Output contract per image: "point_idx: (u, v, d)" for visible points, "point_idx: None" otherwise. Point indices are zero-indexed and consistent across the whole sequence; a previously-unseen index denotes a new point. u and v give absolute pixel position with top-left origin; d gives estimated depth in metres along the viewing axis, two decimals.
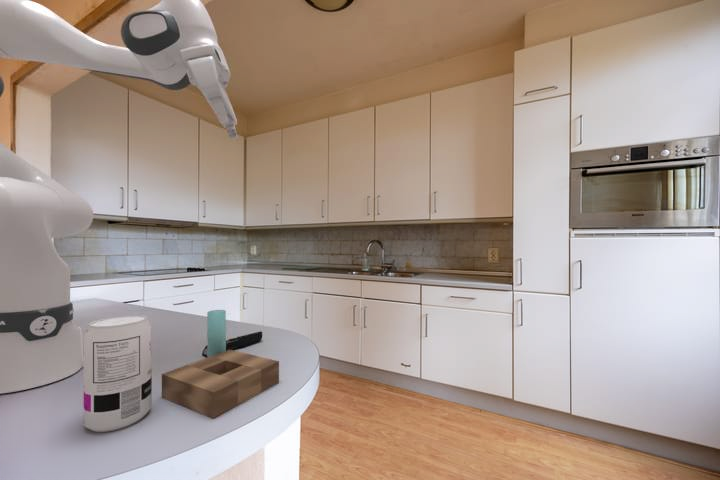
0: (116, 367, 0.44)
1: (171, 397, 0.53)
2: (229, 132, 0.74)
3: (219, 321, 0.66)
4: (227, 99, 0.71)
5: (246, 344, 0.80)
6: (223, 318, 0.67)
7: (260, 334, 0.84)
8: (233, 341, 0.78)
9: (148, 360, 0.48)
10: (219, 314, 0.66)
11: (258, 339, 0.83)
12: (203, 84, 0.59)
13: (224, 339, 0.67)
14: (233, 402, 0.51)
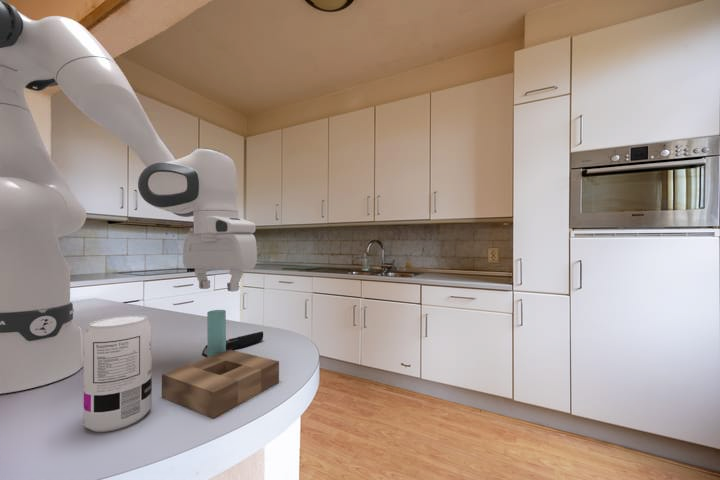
0: (116, 367, 0.44)
1: (171, 397, 0.53)
2: (204, 283, 0.69)
3: (219, 321, 0.66)
4: None
5: (246, 344, 0.80)
6: (223, 318, 0.67)
7: (261, 334, 0.84)
8: (233, 341, 0.78)
9: (148, 360, 0.48)
10: (219, 314, 0.66)
11: (259, 339, 0.83)
12: (247, 263, 0.62)
13: (224, 339, 0.67)
14: (233, 402, 0.51)
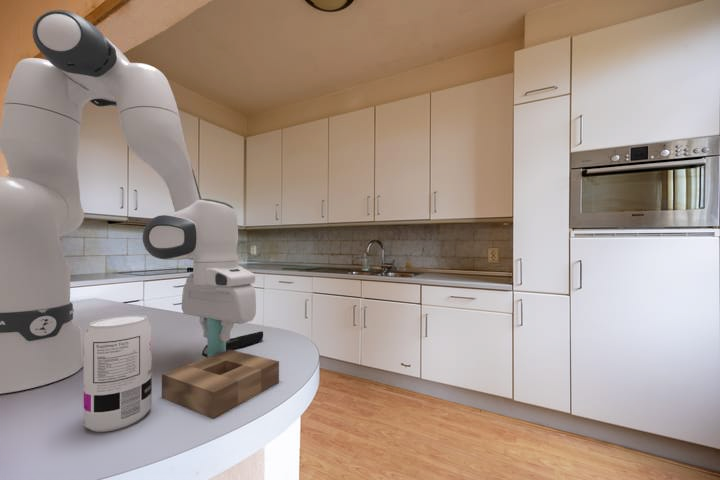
0: (116, 367, 0.44)
1: (171, 397, 0.53)
2: None
3: (219, 320, 0.66)
4: None
5: (246, 344, 0.80)
6: None
7: (261, 334, 0.84)
8: (233, 341, 0.78)
9: (148, 360, 0.48)
10: None
11: (259, 339, 0.83)
12: (246, 317, 0.62)
13: None
14: (233, 402, 0.51)
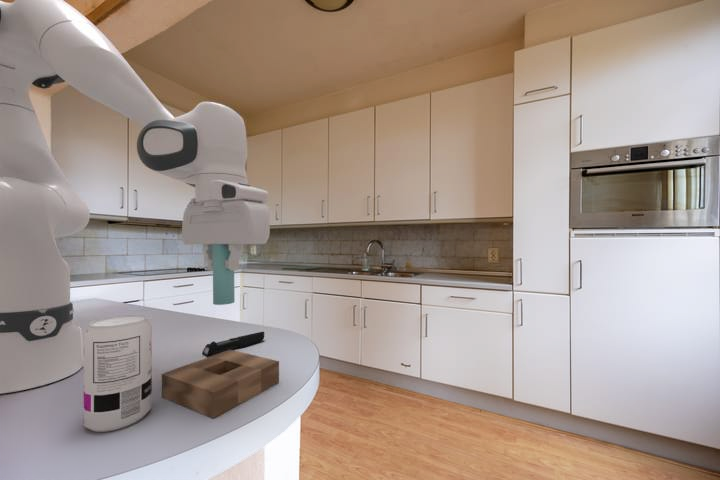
0: (116, 367, 0.44)
1: (171, 397, 0.53)
2: None
3: (227, 246, 0.56)
4: None
5: (247, 344, 0.80)
6: None
7: (262, 334, 0.84)
8: (234, 341, 0.78)
9: (148, 360, 0.48)
10: None
11: (260, 339, 0.83)
12: (258, 236, 0.52)
13: None
14: (233, 402, 0.51)
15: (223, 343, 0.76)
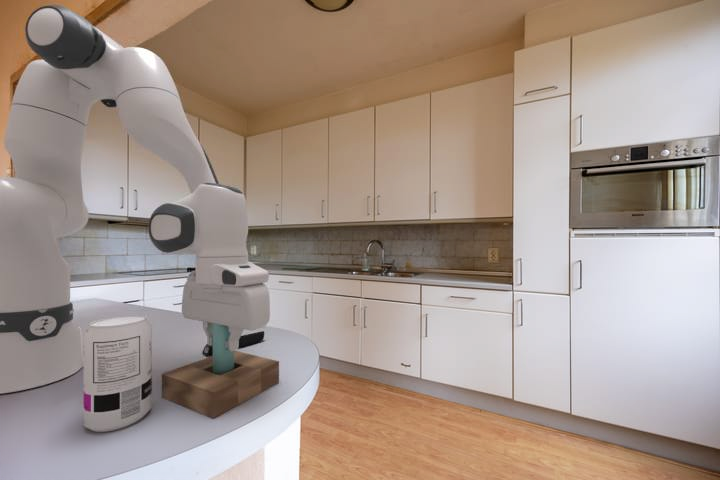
0: (116, 367, 0.44)
1: (171, 397, 0.53)
2: None
3: (227, 326, 0.56)
4: None
5: (247, 344, 0.80)
6: None
7: (262, 334, 0.84)
8: None
9: (148, 360, 0.48)
10: None
11: (259, 339, 0.83)
12: (258, 323, 0.51)
13: None
14: (233, 402, 0.51)
15: None
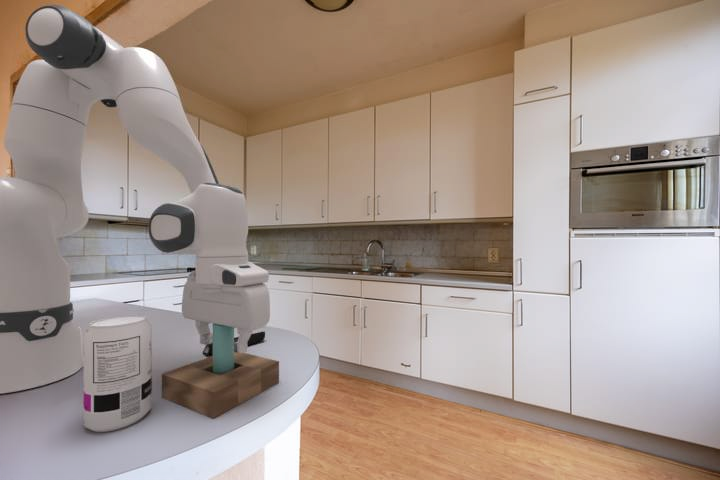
0: (116, 367, 0.44)
1: (171, 397, 0.53)
2: (206, 338, 0.58)
3: (227, 334, 0.56)
4: None
5: (247, 344, 0.80)
6: (231, 331, 0.57)
7: (263, 334, 0.84)
8: (234, 340, 0.78)
9: (148, 360, 0.48)
10: (227, 327, 0.56)
11: (260, 339, 0.83)
12: (258, 323, 0.51)
13: (232, 356, 0.57)
14: (233, 402, 0.51)
15: None
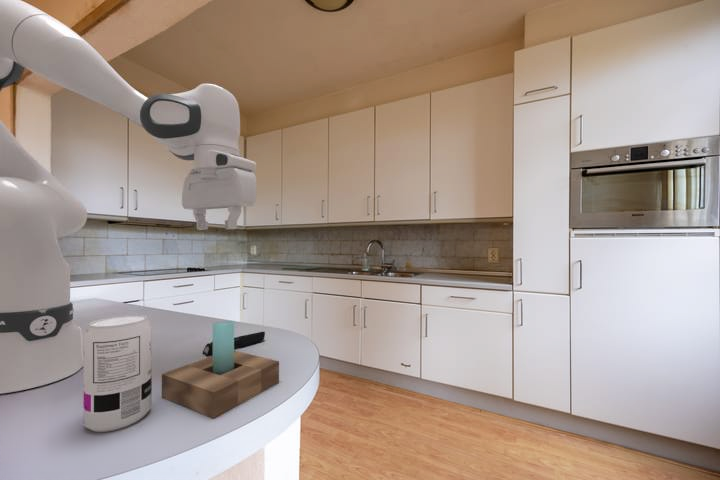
0: (116, 367, 0.44)
1: (171, 397, 0.53)
2: (202, 223, 0.68)
3: (227, 334, 0.56)
4: None
5: (247, 344, 0.80)
6: (231, 331, 0.57)
7: (262, 334, 0.84)
8: (234, 340, 0.79)
9: (148, 360, 0.48)
10: (227, 327, 0.56)
11: (260, 339, 0.83)
12: (246, 198, 0.61)
13: (232, 356, 0.57)
14: (233, 402, 0.51)
15: None
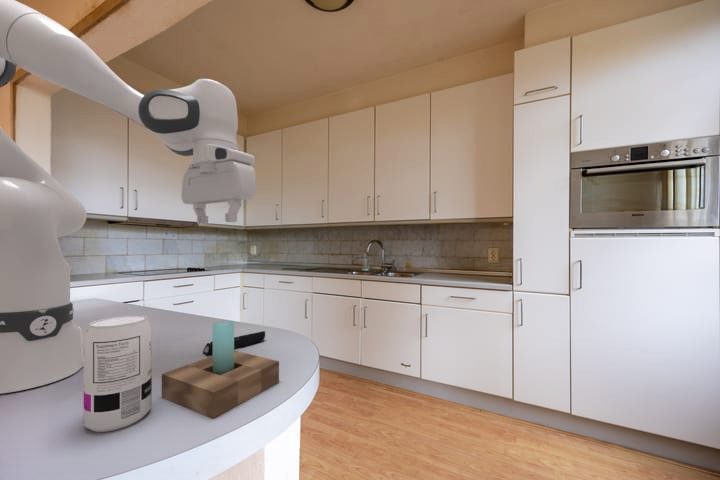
0: (116, 367, 0.44)
1: (171, 397, 0.53)
2: (202, 217, 0.69)
3: (227, 334, 0.56)
4: None
5: (247, 343, 0.80)
6: (231, 331, 0.57)
7: (263, 334, 0.84)
8: (234, 340, 0.79)
9: (148, 360, 0.48)
10: (226, 327, 0.56)
11: (260, 339, 0.83)
12: (245, 191, 0.62)
13: (232, 356, 0.57)
14: (233, 402, 0.51)
15: None
